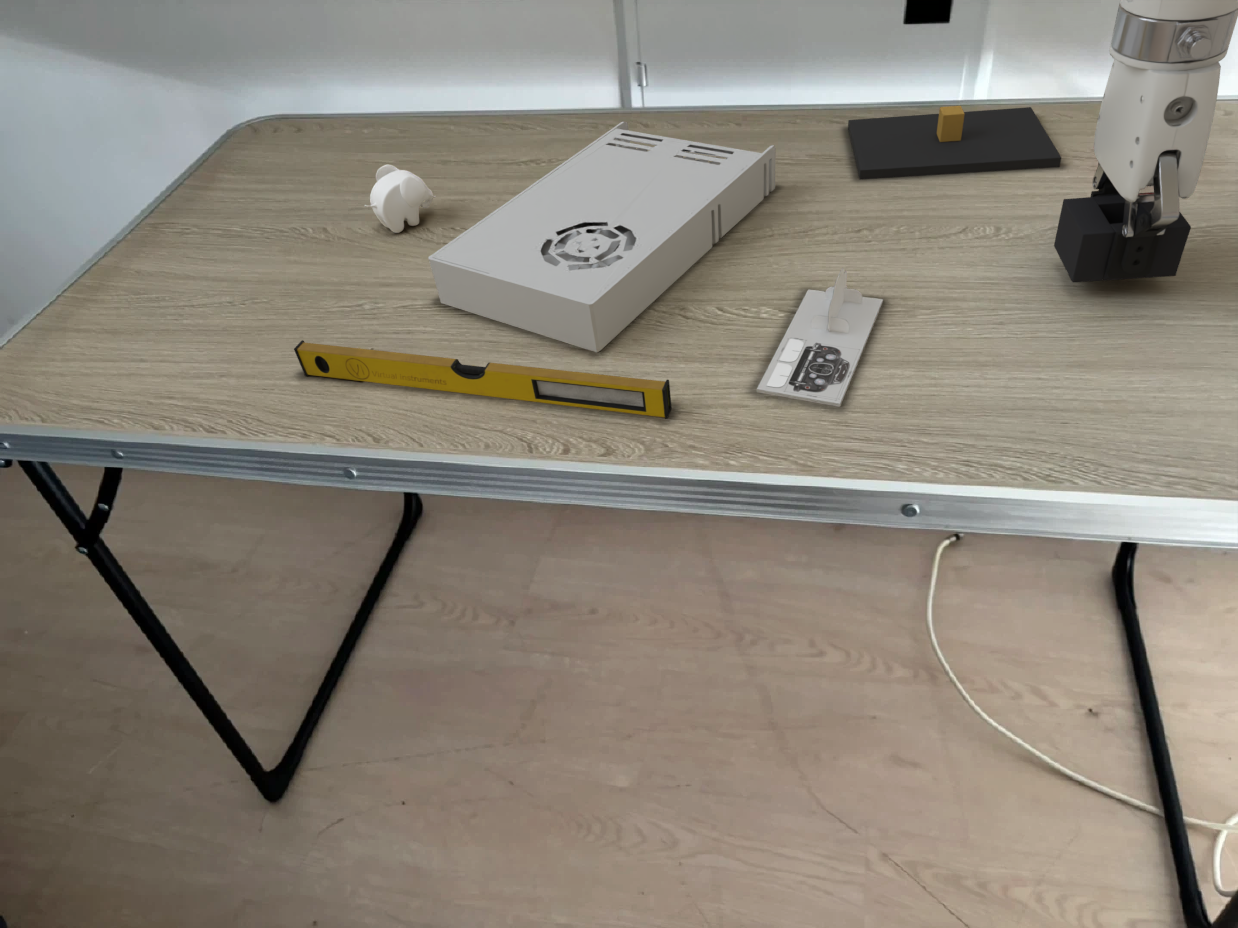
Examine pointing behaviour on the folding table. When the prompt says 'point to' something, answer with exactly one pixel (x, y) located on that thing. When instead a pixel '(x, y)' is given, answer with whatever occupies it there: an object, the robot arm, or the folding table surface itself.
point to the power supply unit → (601, 235)
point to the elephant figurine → (398, 197)
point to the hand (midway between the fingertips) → (1114, 252)
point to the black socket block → (1109, 238)
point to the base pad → (951, 143)
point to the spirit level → (488, 379)
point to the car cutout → (822, 345)
